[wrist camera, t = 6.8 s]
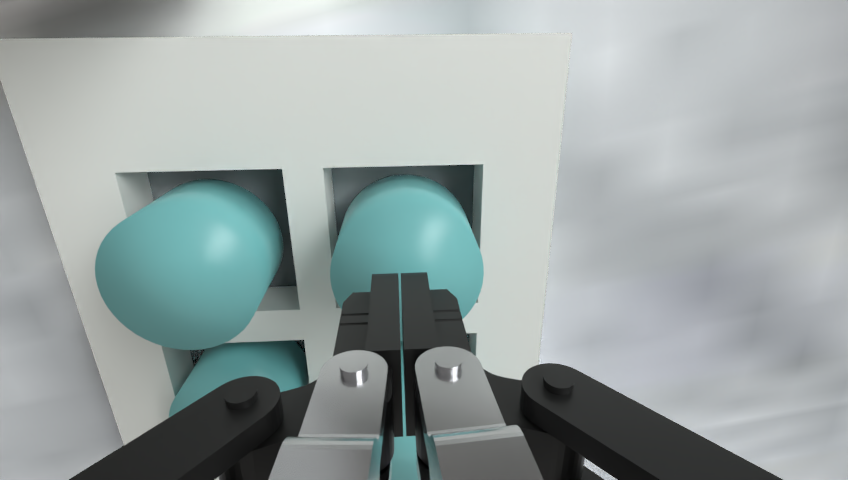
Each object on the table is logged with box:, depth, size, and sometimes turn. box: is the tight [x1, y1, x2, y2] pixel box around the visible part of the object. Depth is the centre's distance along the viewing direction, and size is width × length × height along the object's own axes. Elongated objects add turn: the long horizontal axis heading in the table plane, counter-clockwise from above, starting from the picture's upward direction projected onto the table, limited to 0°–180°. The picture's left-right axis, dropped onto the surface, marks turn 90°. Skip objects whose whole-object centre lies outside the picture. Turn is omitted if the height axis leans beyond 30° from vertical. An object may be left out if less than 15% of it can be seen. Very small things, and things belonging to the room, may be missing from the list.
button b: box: [95, 179, 283, 350], centre depth 16 cm, size 5×5×3 cm
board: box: [0, 33, 572, 480], centre depth 20 cm, size 18×24×2 cm
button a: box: [330, 174, 484, 341], centre depth 16 cm, size 5×5×3 cm
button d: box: [169, 340, 309, 417], centre depth 20 cm, size 5×5×3 cm
